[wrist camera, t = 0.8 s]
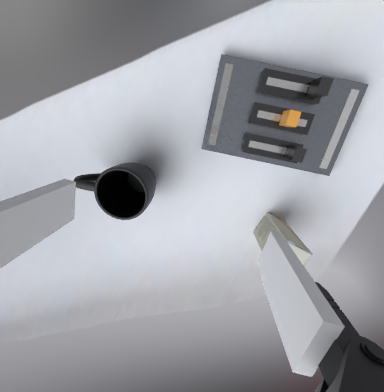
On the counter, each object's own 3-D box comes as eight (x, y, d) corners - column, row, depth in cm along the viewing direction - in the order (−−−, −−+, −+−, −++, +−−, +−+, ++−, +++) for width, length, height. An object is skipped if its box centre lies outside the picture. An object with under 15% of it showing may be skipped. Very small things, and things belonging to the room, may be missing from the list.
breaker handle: (283, 111, 31) (290, 109, 28) (293, 113, 31) (301, 111, 28) (278, 125, 31) (285, 125, 28) (288, 127, 31) (296, 127, 28)
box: (270, 241, 41) (291, 280, 31) (252, 231, 41) (266, 267, 30) (286, 221, 40) (314, 254, 29) (267, 210, 39) (288, 241, 29)
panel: (220, 57, 32) (223, 41, 26) (361, 86, 32) (396, 76, 26) (201, 147, 37) (200, 152, 31) (324, 173, 36) (347, 183, 30)
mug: (103, 147, 38) (69, 154, 29) (166, 163, 38) (152, 175, 29) (99, 189, 41) (67, 206, 32) (158, 204, 41) (143, 226, 32)
